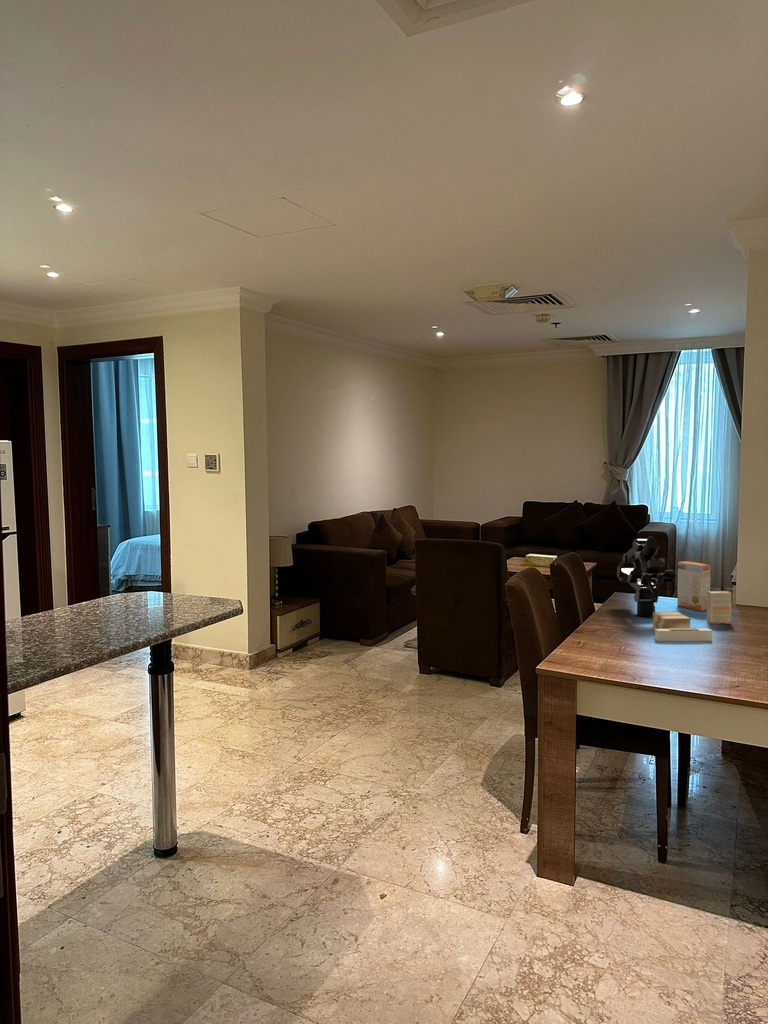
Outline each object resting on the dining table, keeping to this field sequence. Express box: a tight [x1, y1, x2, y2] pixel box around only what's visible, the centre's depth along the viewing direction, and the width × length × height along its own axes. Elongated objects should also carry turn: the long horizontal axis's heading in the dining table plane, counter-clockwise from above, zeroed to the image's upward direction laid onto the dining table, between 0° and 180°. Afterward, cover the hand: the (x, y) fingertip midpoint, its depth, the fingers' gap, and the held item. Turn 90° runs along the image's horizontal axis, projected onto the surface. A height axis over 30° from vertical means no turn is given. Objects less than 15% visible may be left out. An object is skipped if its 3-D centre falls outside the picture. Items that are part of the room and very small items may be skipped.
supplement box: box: [706, 590, 732, 625], centre depth 296 cm, size 8×5×13 cm, turn 84°
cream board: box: [654, 627, 713, 642], centre depth 269 cm, size 3×20×4 cm, turn 88°
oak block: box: [652, 611, 691, 630], centre depth 282 cm, size 12×10×7 cm
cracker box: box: [676, 560, 712, 612], centre depth 326 cm, size 14×6×21 cm, turn 22°
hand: (656, 593), depth 297 cm, fingers open, 2 cm apart
